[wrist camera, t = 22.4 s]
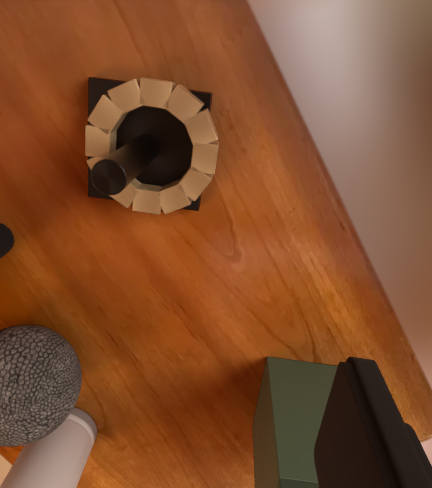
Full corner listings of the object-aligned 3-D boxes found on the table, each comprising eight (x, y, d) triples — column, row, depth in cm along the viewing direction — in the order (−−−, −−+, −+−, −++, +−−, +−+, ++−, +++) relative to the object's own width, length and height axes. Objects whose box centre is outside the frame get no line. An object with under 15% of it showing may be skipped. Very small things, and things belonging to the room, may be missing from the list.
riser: (359, 368, 40) (417, 509, 27) (337, 437, 43) (379, 592, 30) (266, 356, 40) (280, 491, 27) (252, 426, 43) (258, 576, 30)
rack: (212, 92, 31) (199, 101, 21) (199, 206, 35) (183, 263, 24) (93, 77, 31) (21, 78, 21) (92, 192, 35) (30, 243, 24)
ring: (226, 89, 30) (226, 90, 28) (209, 214, 34) (207, 222, 32) (94, 69, 30) (85, 69, 28) (91, 197, 33) (83, 203, 32)
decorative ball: (64, 290, 38) (9, 359, 29) (113, 372, 42) (78, 458, 32) (-25, 322, 40) (-103, 396, 31) (29, 398, 43) (-27, 486, 34)
